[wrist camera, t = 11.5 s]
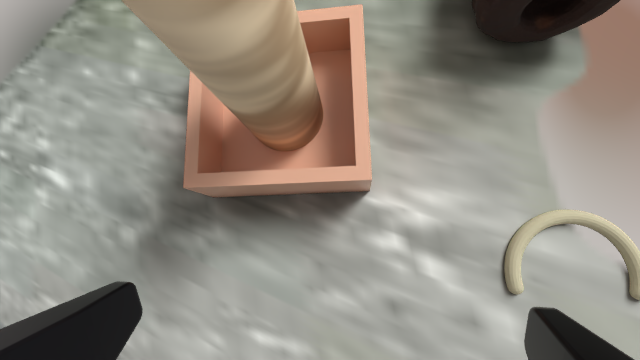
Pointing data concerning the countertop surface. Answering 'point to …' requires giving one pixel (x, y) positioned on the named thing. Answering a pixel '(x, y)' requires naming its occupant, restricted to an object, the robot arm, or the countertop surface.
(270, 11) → the beech dowel
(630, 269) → the handle
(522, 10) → the dark brown elbow
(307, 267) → the countertop surface
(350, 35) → the box
